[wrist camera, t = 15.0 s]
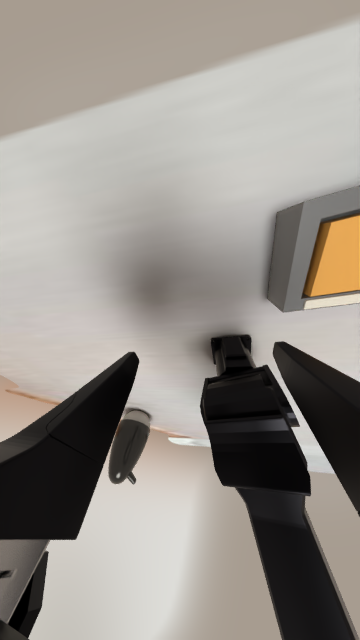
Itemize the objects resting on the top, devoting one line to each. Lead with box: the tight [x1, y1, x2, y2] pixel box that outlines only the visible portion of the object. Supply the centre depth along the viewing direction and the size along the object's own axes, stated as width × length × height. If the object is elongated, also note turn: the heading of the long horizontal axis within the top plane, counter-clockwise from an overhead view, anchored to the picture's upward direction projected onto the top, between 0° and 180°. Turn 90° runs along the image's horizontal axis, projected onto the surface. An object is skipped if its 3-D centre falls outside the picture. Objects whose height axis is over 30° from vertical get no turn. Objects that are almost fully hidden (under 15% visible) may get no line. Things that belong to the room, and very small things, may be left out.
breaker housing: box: [267, 186, 360, 313], centre depth 12 cm, size 10×10×4 cm
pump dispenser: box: [109, 410, 150, 484], centre depth 38 cm, size 10×10×15 cm
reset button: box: [302, 212, 360, 297], centre depth 12 cm, size 6×6×3 cm
